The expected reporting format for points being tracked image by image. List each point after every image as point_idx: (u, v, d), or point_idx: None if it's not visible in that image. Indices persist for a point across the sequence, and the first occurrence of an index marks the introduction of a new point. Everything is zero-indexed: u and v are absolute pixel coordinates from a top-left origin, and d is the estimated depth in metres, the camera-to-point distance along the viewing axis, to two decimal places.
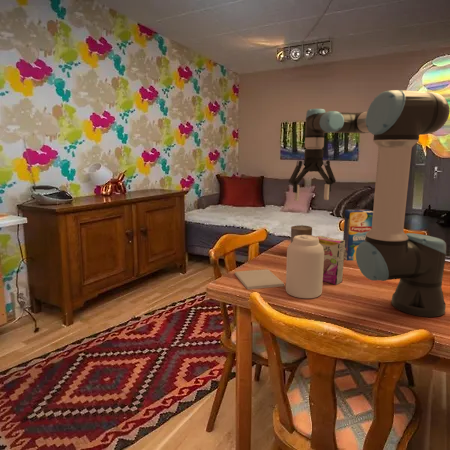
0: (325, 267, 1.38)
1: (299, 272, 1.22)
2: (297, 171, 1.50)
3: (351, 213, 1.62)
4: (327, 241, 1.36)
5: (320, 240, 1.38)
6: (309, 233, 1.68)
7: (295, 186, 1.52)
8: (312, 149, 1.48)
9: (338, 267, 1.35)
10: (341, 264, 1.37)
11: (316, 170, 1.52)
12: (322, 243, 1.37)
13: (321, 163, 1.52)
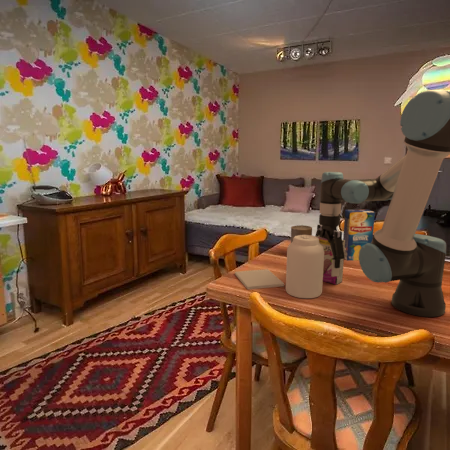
0: (325, 267, 1.38)
1: (299, 272, 1.22)
2: (316, 235, 1.45)
3: (351, 213, 1.62)
4: (327, 241, 1.36)
5: (320, 240, 1.38)
6: (309, 233, 1.68)
7: None
8: (320, 214, 1.38)
9: None
10: (341, 264, 1.36)
11: (327, 238, 1.37)
12: (322, 243, 1.37)
13: (330, 232, 1.34)
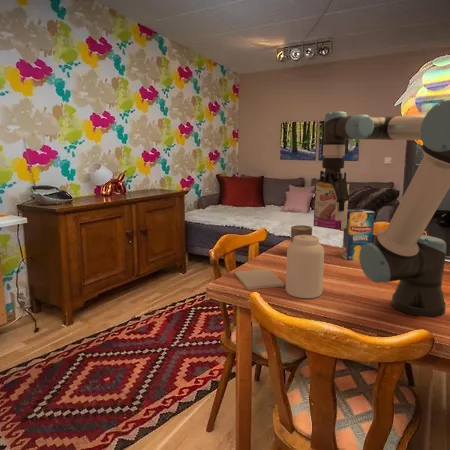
0: (328, 212, 1.34)
1: (299, 272, 1.22)
2: None
3: (351, 213, 1.62)
4: (331, 185, 1.32)
5: (323, 184, 1.33)
6: (309, 233, 1.68)
7: None
8: (323, 158, 1.33)
9: None
10: (345, 209, 1.32)
11: (331, 182, 1.32)
12: (325, 187, 1.33)
13: (334, 174, 1.30)
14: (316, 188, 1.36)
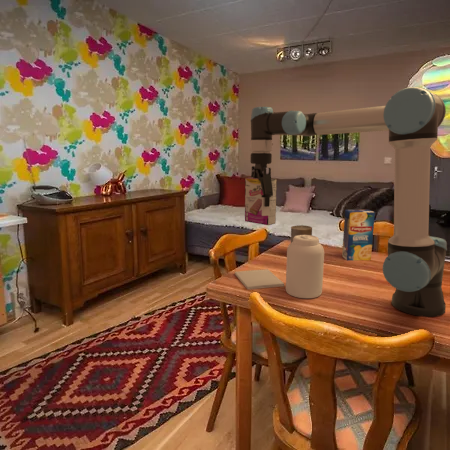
0: (257, 208, 1.34)
1: (299, 272, 1.22)
2: None
3: (351, 213, 1.62)
4: (258, 180, 1.32)
5: (252, 180, 1.33)
6: (309, 233, 1.68)
7: None
8: None
9: None
10: (273, 204, 1.32)
11: None
12: (254, 183, 1.33)
13: (260, 170, 1.30)
14: (246, 183, 1.36)
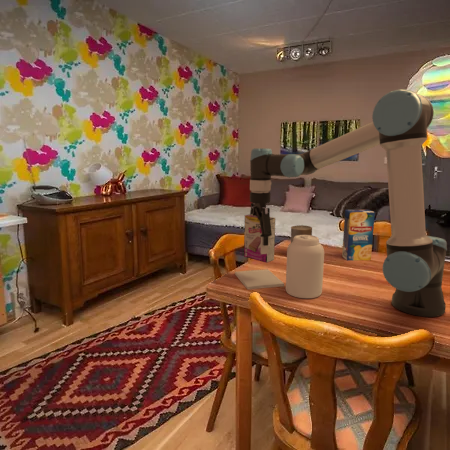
0: (256, 245, 1.37)
1: (299, 272, 1.22)
2: (250, 213, 1.43)
3: (351, 213, 1.62)
4: (257, 218, 1.34)
5: (251, 218, 1.36)
6: (309, 233, 1.68)
7: None
8: None
9: None
10: (271, 242, 1.35)
11: None
12: (253, 221, 1.36)
13: (259, 209, 1.33)
14: (245, 220, 1.39)
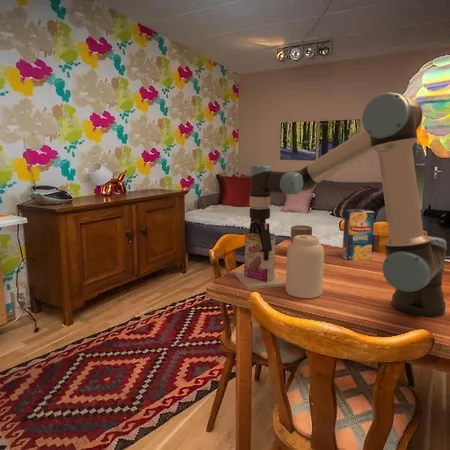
0: (256, 264, 1.38)
1: (299, 272, 1.22)
2: (250, 227, 1.45)
3: (351, 213, 1.62)
4: (257, 238, 1.35)
5: (251, 237, 1.37)
6: (309, 233, 1.68)
7: None
8: None
9: None
10: (272, 261, 1.36)
11: None
12: (253, 240, 1.37)
13: (259, 225, 1.34)
14: (245, 240, 1.40)
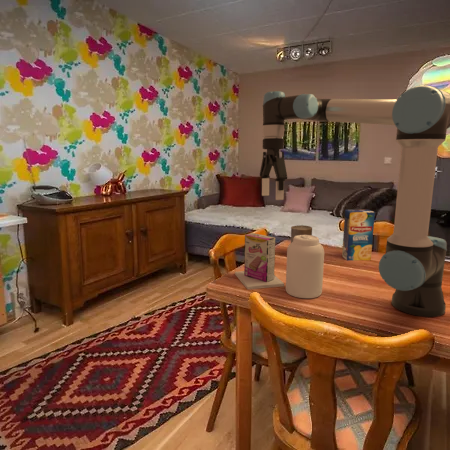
0: (256, 264, 1.38)
1: (299, 272, 1.22)
2: (262, 163, 1.40)
3: (351, 213, 1.62)
4: (257, 238, 1.35)
5: (251, 237, 1.37)
6: (309, 233, 1.68)
7: None
8: None
9: (267, 264, 1.35)
10: (272, 261, 1.36)
11: (271, 163, 1.32)
12: (253, 240, 1.37)
13: (273, 155, 1.29)
14: (245, 240, 1.40)
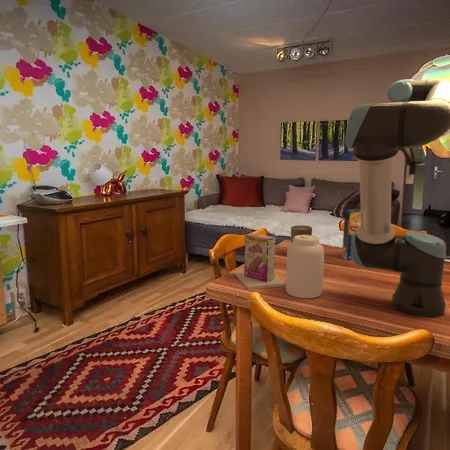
0: (256, 264, 1.38)
1: (299, 272, 1.22)
2: None
3: (351, 213, 1.62)
4: (257, 238, 1.35)
5: (251, 237, 1.37)
6: (309, 233, 1.68)
7: None
8: None
9: (267, 264, 1.35)
10: (272, 261, 1.36)
11: (399, 149, 1.38)
12: (253, 240, 1.37)
13: None
14: (245, 240, 1.40)
